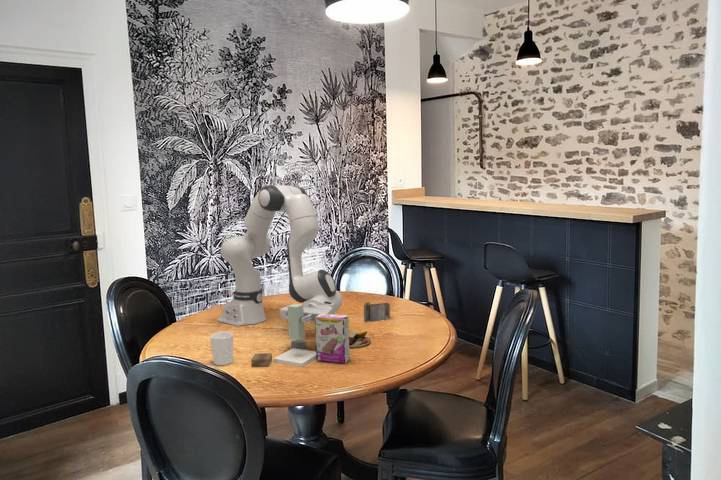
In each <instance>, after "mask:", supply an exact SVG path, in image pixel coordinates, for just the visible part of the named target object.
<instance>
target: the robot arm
mask: <svg viewBox="0 0 721 480" xmlns="http://www.w3.org/2000/svg"><path fill="white" fill-rule="evenodd" d="M277 212H279V213H286V214H287V218H288V221H289V227H290V233H289V239H288V240H287V242H286V252H287V253H286V254H287V265H288V277H289V278H288V279H289V280H288V292H289V295H290V298H292V299H293V300H294V301H296V302H298V303H299V304H303V303H304V304H303V310H304V317H300V322H301V323H304V324H305V323H307V322H311V323H315V317H316V316H317V315H319V314H332V315H336V313H337V311H338V310H339V309H340V308H341V307H342V304H343V296H342V294H341V292H339V291H338V290H337V288H336V282H335V280H334V277H333V276H332V275H331V273H330V272H328V271H327V270H324V269H319V270H316V271H313V272H310V273H308V274H305V275H304V272H303V271H304V270H303V262H302V256H303V253H304V251H305V249H306V248H307V247H308V246H309V245H310V244H311V243H313V241H314V240H315V239H316V238H317V236H318V234H319V228H320V227H319V222H318V218H317V213H316V211H315V208H314V205H313V203H312V200H311V198H310V197H309V196H308V194H307V191H306V190H305V189H304V188H302V187H300V186H297V185H295V186H293V185H289V184H288V185H287V184H280V185H278V184H277V185H274V184H269V185H266V186H262V187H261V189H260V190H259V191H258V192H257V194H256V195H255V197H254V198H253V200H252V202H251V204H250V206H249V208H248V210H247V213H246V216H245V218H244V220H243V224H244V226H245V228H246V230H247V231H246V233H245V234H244V235H240V236H232V237H230V238H228V239H227V240H224V241H223V242H222V244H221V245H220V254H221V256H222V259H223V260H225V261H226V262H227V263H228V264H229V265H230V266H231V268H232V271H233V273H234V280H235V291H232V292H231V296H232V295H233V298H232V299H231V300H230V301H229V302H227V303H226V304H225V305H224V306H223V307H222V314H221V316H218V318H217V319H216V320H217V322H220V323H224V324H228V325H232V326H236V327H239V326H240V327H241V326H245V325H255V324H259V323H263V322H265V321H266V320H267V317H266V313H265V310H264V304H263V289H262V281H261V279H262V278H261V272H260V270H259V269H257V268H255V267H254V265H253V262H252V259H256V258H260V257H262V256H264V255H266V254H268V252H269V251H270V249H271V241H270V239H269V237H268V233H269V229H270V227H271V224H272V222H273V220H274V218H275V215H276V213H277ZM288 306H289V305H287V306H284V307H281V308H280V310H279V314H280V318H281V319H285V320H286V321H287V322H288Z"/></svg>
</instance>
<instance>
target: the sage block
mask: <svg viewBox="0 0 721 480" xmlns="http://www.w3.org/2000/svg"><path fill="white" fill-rule="evenodd" d="M287 306H288V321H287V322H288V337H289V340H292V341H294V340H303V339H304V338H305V337H306V331H305V330H306V329H305V322H304V323H301V322H300V317H304V310H303V306H304V304H303V303H292V304H290V305H287Z"/></svg>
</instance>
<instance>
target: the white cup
mask: <svg viewBox="0 0 721 480" xmlns="http://www.w3.org/2000/svg"><path fill="white" fill-rule="evenodd" d="M209 337H210V347H211V348H210V349H211V354H212V358H213V359H212V360H213V364H214V365H215V364H216V366H228V365H230V364H232V363H233V362H234V333H233V332H230V331H220V332H215V333H212V334H210V336H209Z"/></svg>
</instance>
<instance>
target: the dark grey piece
mask: <svg viewBox="0 0 721 480" xmlns="http://www.w3.org/2000/svg"><path fill="white" fill-rule="evenodd" d="M381 320H384V321H390V320H391V304H390V302H381V303H371V301H367V302H366V301H365V302H364V304H363V321H364V322H365V323H367V322H368V321H369V323H370V322H372V323H373V322H382V321H381Z"/></svg>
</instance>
